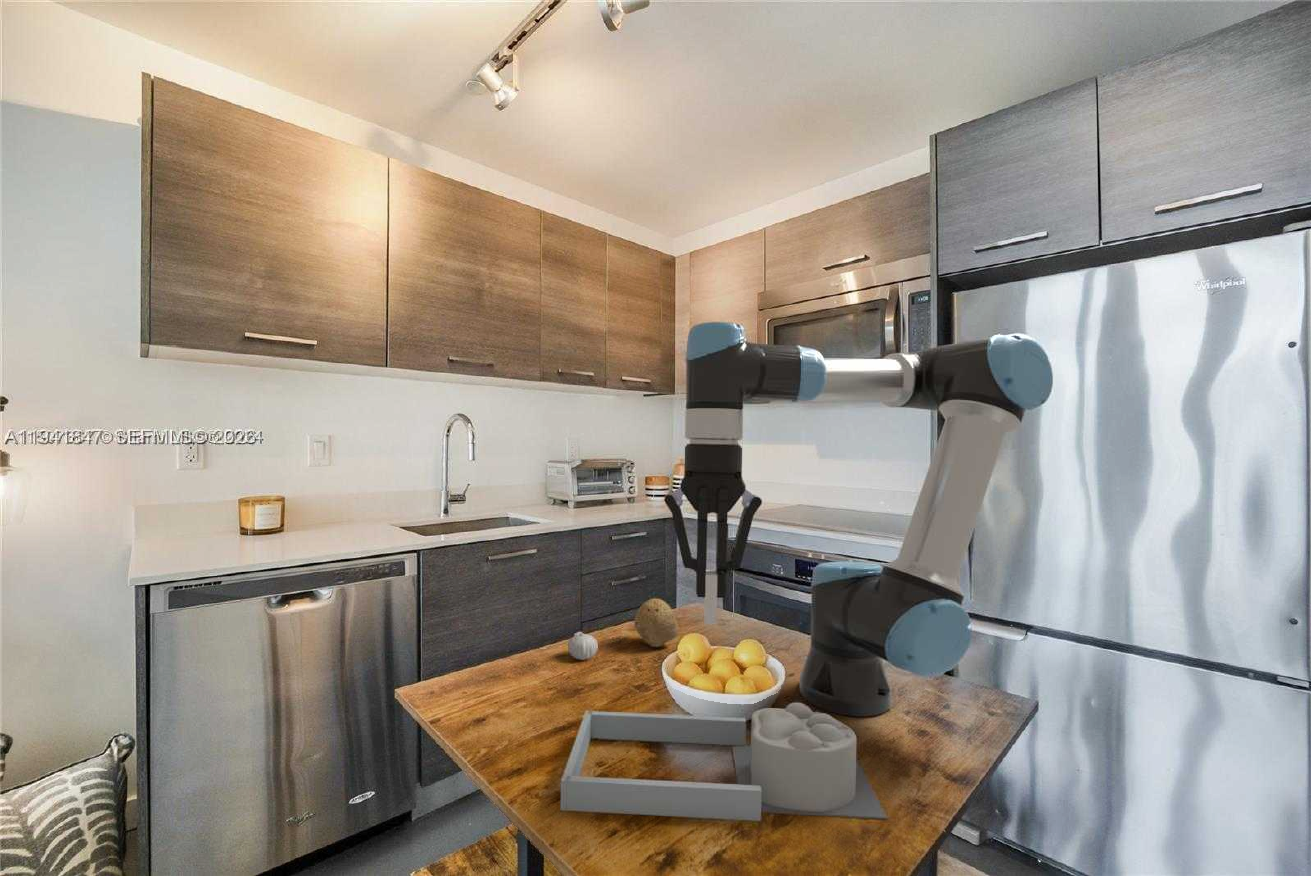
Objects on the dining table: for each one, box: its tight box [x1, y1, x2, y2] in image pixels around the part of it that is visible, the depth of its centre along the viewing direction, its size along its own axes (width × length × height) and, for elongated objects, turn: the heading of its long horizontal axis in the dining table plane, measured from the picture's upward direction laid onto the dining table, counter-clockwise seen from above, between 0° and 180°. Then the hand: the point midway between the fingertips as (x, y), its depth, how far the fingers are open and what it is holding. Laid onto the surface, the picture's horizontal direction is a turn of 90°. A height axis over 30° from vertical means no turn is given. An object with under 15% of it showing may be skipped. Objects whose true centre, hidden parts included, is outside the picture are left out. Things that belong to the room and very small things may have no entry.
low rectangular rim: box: [560, 710, 762, 822], centre depth 75 cm, size 24×17×4 cm
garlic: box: [567, 631, 599, 661], centre depth 113 cm, size 6×5×5 cm
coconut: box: [634, 597, 679, 648], centre depth 120 cm, size 9×9×10 cm
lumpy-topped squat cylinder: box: [750, 702, 857, 811], centre depth 72 cm, size 10×13×9 cm
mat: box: [731, 745, 888, 820], centre depth 74 cm, size 17×14×1 cm
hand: (710, 621), depth 74 cm, fingers closed
